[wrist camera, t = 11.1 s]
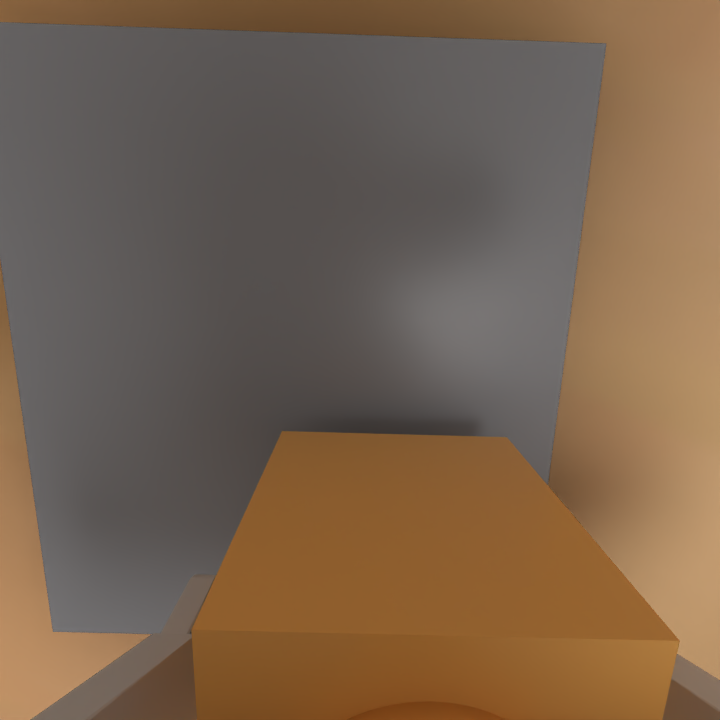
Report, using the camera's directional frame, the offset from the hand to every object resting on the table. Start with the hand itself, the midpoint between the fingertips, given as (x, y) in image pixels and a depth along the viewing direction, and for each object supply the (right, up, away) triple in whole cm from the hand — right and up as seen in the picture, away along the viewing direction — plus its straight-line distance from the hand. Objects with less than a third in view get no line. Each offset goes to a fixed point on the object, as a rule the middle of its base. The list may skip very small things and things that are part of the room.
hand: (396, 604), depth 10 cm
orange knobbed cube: (0, +1, +3) cm, 3 cm away
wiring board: (-3, +5, +5) cm, 8 cm away
